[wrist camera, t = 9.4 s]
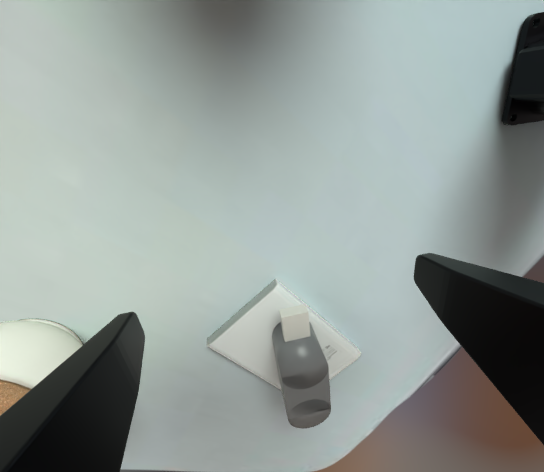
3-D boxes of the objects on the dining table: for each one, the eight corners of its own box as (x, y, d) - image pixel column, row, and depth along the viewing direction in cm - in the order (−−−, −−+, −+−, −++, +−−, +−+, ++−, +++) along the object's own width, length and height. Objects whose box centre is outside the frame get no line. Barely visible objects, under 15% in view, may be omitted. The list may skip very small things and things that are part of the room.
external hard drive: (274, 274, 24) (356, 343, 29) (206, 333, 25) (296, 390, 30) (278, 285, 22) (363, 356, 27) (206, 348, 24) (299, 404, 29)
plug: (318, 399, 29) (332, 440, 25) (284, 407, 29) (293, 451, 25) (309, 289, 23) (326, 324, 19) (265, 299, 23) (274, 335, 19)
